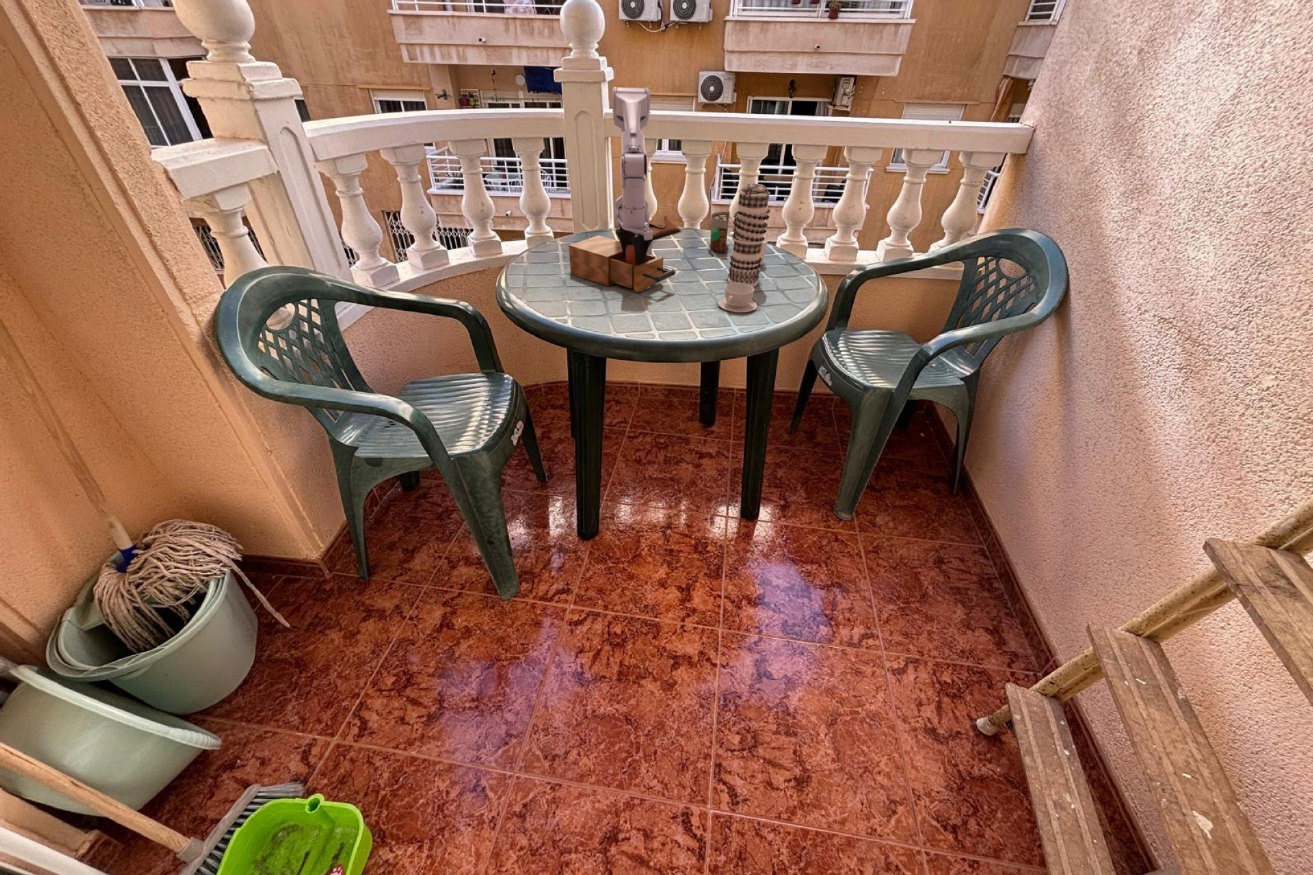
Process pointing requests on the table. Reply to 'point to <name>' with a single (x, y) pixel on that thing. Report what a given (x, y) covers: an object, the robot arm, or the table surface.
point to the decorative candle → (749, 234)
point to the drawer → (637, 272)
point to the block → (630, 255)
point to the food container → (719, 231)
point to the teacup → (738, 298)
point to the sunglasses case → (662, 227)
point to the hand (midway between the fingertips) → (633, 260)
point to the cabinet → (593, 258)
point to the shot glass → (763, 250)
